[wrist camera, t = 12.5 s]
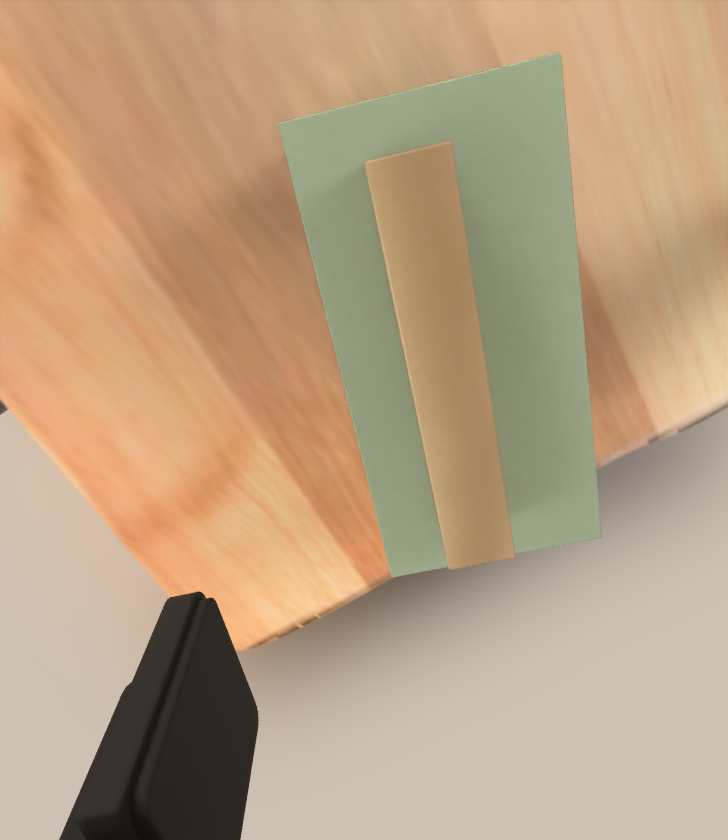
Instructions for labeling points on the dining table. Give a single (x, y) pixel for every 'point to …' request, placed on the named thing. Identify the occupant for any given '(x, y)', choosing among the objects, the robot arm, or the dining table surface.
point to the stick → (443, 348)
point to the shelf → (494, 288)
